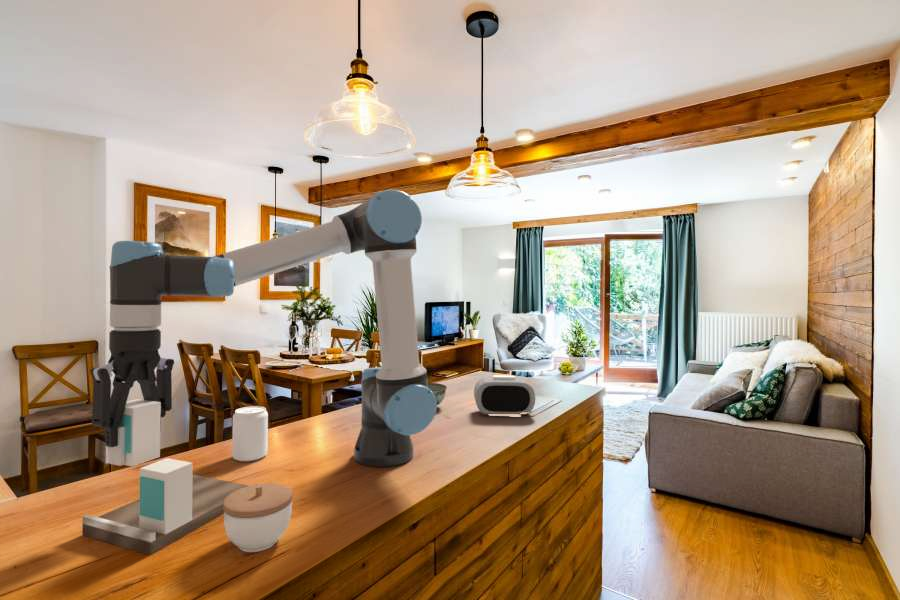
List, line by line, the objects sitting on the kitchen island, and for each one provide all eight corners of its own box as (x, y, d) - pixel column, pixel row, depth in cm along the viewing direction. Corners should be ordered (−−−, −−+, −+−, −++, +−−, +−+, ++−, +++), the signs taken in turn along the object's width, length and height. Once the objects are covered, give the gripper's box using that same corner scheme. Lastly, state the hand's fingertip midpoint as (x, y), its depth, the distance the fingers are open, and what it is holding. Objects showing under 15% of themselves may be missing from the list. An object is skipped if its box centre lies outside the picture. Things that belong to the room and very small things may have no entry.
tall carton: (136, 452, 83) (137, 398, 83) (159, 456, 82) (160, 402, 81) (106, 462, 79) (107, 405, 78) (131, 467, 77) (131, 408, 76)
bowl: (405, 411, 159) (405, 388, 159) (414, 402, 173) (414, 381, 173) (442, 413, 157) (443, 390, 157) (449, 404, 170) (449, 383, 170)
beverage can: (254, 464, 108) (254, 415, 108) (225, 461, 110) (225, 412, 110) (273, 452, 116) (274, 406, 116) (246, 450, 118) (246, 404, 118)
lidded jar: (237, 526, 80) (238, 474, 80) (299, 524, 81) (299, 473, 81) (210, 562, 69) (211, 502, 69) (281, 560, 70) (282, 500, 70)
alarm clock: (475, 417, 153) (476, 378, 153) (473, 410, 162) (474, 373, 162) (535, 418, 153) (536, 379, 153) (530, 411, 163) (530, 374, 162)
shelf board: (254, 496, 91) (254, 480, 91) (150, 555, 71) (150, 534, 71) (194, 484, 97) (194, 469, 97) (82, 535, 76) (82, 516, 76)
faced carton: (166, 513, 80) (167, 458, 80) (192, 520, 78) (192, 462, 78) (137, 528, 75) (138, 468, 75) (164, 535, 73) (164, 474, 73)
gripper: (167, 324, 90) (165, 440, 90) (63, 331, 72) (61, 473, 73) (196, 326, 87) (194, 445, 87) (95, 333, 70) (92, 481, 70)
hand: (133, 457), depth 80 cm, fingers closed on tall carton, 5 cm apart
